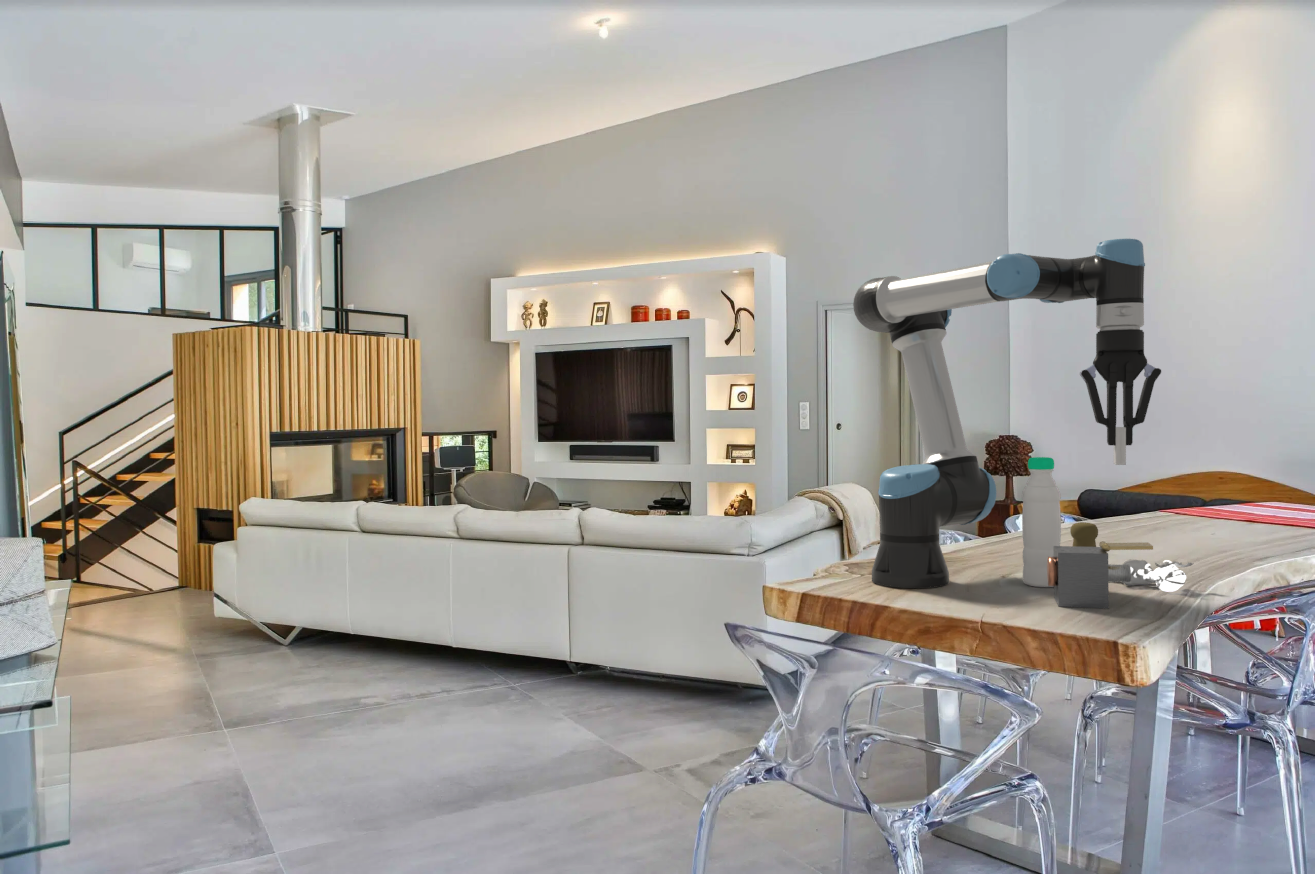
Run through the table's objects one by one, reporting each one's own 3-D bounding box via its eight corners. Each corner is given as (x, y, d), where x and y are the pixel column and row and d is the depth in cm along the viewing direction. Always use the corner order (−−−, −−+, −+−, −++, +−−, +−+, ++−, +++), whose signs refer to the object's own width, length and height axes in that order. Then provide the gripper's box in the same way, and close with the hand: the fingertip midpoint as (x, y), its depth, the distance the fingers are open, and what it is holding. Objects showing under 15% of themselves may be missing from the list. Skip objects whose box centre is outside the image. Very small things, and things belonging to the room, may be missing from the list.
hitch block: (1058, 606, 167) (1058, 552, 167) (1054, 597, 175) (1053, 545, 175) (1108, 608, 165) (1108, 553, 165) (1101, 599, 172) (1101, 546, 172)
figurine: (1145, 559, 189) (1198, 556, 178) (1148, 591, 188) (1202, 591, 177) (1109, 559, 186) (1161, 557, 175) (1112, 592, 185) (1165, 592, 174)
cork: (1104, 579, 192) (1103, 524, 191) (1072, 578, 193) (1071, 524, 193) (1096, 573, 198) (1096, 521, 197) (1065, 573, 199) (1065, 520, 199)
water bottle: (1044, 589, 183) (1042, 458, 182) (1014, 583, 189) (1013, 457, 188) (1069, 585, 186) (1068, 457, 185) (1039, 580, 192) (1038, 456, 192)
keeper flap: (1103, 551, 166) (1102, 544, 166) (1099, 547, 171) (1099, 541, 171) (1153, 551, 164) (1152, 544, 164) (1148, 547, 168) (1148, 540, 168)
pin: (1049, 588, 169) (1049, 559, 169) (1047, 583, 174) (1046, 554, 174) (1132, 591, 165) (1131, 561, 165) (1126, 585, 170) (1126, 556, 170)
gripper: (1081, 329, 165) (1081, 465, 166) (1166, 326, 161) (1165, 466, 162) (1076, 332, 172) (1076, 462, 173) (1157, 329, 168) (1156, 463, 169)
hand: (1119, 464), depth 168 cm, fingers closed
